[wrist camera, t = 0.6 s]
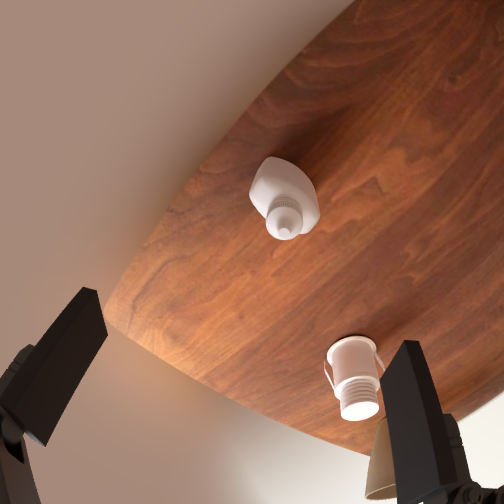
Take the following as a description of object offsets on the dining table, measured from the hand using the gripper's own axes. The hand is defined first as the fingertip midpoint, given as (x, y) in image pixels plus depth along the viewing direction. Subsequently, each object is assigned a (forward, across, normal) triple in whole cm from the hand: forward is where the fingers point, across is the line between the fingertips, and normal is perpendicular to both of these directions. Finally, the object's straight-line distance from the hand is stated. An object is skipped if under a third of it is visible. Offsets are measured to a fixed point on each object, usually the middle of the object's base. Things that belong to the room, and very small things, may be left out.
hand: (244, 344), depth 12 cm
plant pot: (+20, +32, -41) cm, 55 cm away
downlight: (+20, +14, -21) cm, 32 cm away
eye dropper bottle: (+20, +1, +1) cm, 20 cm away
